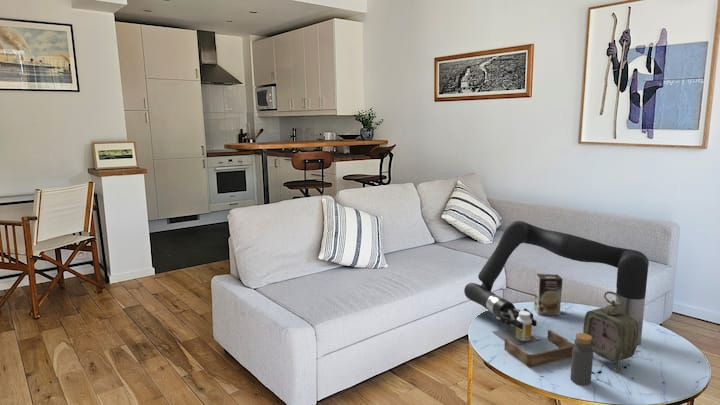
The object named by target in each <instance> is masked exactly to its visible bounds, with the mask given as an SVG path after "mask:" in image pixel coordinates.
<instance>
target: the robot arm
mask: <svg viewBox="0 0 720 405" xmlns="http://www.w3.org/2000/svg"><path fill="white" fill-rule="evenodd" d="M521 244H526V245H527V244H528V245H532V246H537V247H540V248H542V249H545V250H546V251H549V252H551V253H553V254H555V255H557V256H559V257H562V258H565V259H569V260H572V261H577V262H580V263H581V262H582V263H593V264H594V263H596V264H604V265H607V266H611V267H613V268H617V270H616V272H617V273H616V274H617V275H616V285H615V286H616V290H615V291H616V292H615V293H617V294H618V295H620V296H621V297H622V299H623V305H621V306H618V307H619V308H620V310H621V313H623V314H625V315H627V316H629V317H632V318H633V319H635V320H636V321H637V323H638V341H637V345H639V346H640V345H641V343H642V333H643V325H644V313H645V305H646V304H645V302H646V293H647V284H648V283H647V282H648V273H649V264H650V263H649V258H648V257H647V256H646V254H645V253H643V252H641V251H639V250H635V249H629V248H623V247H619V246H612V245H608V244H604V243H601V242H598V241H595V240H593V239H587V238H586V237H585V238H584V237H581V236H577V235H574V234H569V233H565V232H560V231H556V230H549V229H544V228H541V227H538V226H536V225H533V224H531V223H527V222H525V221H521V220H515V221H512V222H510V223H508V224H507V225H506V226H505V228H504V231H503V233H502V235H501V237H500V239H499V242H498V244H497V246H496V247H495V249H494V250H493V252H492V254H491V256H490V257H489V258H488V259H487V261H486V263H485V264H484V265H483V267H482V268H481V270H480V271H479V272H478V276H477V277H478V279H479V281H480V282H481V284H478V283H475V282H469V283H467V284H466V285H465V286H464V289H463V292H464V296H465V297H466V298H467V299H468V300H469V301H472V302H474V303H476V304H478V305H481V306H482V307H484V308H485V309H486V310H487V311H489V313H491V314H493V315H494V316H495V317H496V321H497V322H499V323H501V324H503V325H505V326H507V327H508V326H510V325H511V326H512V327H517V328H519V329H523V324H522V323H521V322H519V321H518V320H517V317H519V312H520V311H521V310H520V309H519V308H516V306H515V305H514V304H513V302H510V301H509V300H508V299H505V298H504V297H502V296H499V295H497V294H496V293H494V292H492V290H493V289H492V288H494V284H495V282H496V281H497V279H498V278H499V276H500V275H501V273H502V271H503V269H504V267H505V265H506V264H507V261H508V259H509V257H510V256H511V255H512V253H513V252H514V251H515V250H516V249H517V248H518V247H519V246H521ZM614 301H615V304H621V303H622V301H621V299H620V298H619V297H618V296H616V295H615V300H614ZM523 311H527V312H529V313H530V319H531V320H532V327H537V320H536V319H534V313H532V312H531V311H530V310H528V309H527V308H523Z"/></svg>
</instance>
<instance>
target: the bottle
mask: <svg viewBox="0 0 720 405" xmlns="http://www.w3.org/2000/svg"><path fill="white" fill-rule="evenodd" d="M573 341H574V342H573V344H575V346H574V347H573V349H572V358H571V363H570V364H571V365H570V380H571V382H573V383H574V384H576V385H579V386H589V385H591V381H592V371H593V362H594V361H593V360H594V359H593V357H594V352H593V350H592V349H591V347H592V342H591V341H592V337H591V336H590V335H588V334H585V333H583V332H578V333H576V334H575V339H574V340H573Z"/></svg>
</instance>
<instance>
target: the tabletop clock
mask: <svg viewBox="0 0 720 405" xmlns="http://www.w3.org/2000/svg"><path fill="white" fill-rule="evenodd" d="M608 294H610V295H614V296H615V297H616V296H618V297H619V298H620V299H621V301H622V303H621V304H615V301H616V300H611V301H610V299H608V298H607V295H608ZM603 297H604V299H605V301H606V302H607V303H608V304H607V305H605V307H599V308H597V309H596V308H595V309H591V310H587V311H586V313H585V315H584V320H583V326H582V329H583V330H582V333H585V334H588V335H590V336H591V337H592V341H591V342H592V347H591V349H592V350H593V354H596V355H598V356H599V357H601V358H603V359H606V360H608V361H610V362H614V363H616V364H615V365H616V367H614V371H615V372H616V373H619V372H621V368H620V367H619V364H620V363H619V362H620V361H624V360H626V359H630V358H633V357H634V355H635V353H636V351H637V346H638V344H637V341H638V323H637V321H636V320H635V319H633V318H632V317H629V316H627V315H625V314H623V313H621V310H620V308H619V307H618V306H621V305H623V299H622V297H621V296H620V295H618V294H617V293H616V292H614V291H610V290H609V291H606V292H605V293H604V295H603Z"/></svg>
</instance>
